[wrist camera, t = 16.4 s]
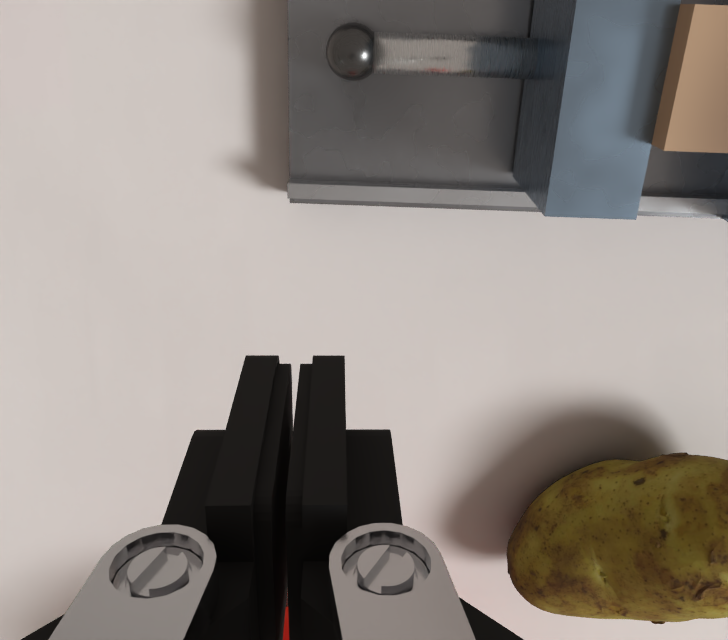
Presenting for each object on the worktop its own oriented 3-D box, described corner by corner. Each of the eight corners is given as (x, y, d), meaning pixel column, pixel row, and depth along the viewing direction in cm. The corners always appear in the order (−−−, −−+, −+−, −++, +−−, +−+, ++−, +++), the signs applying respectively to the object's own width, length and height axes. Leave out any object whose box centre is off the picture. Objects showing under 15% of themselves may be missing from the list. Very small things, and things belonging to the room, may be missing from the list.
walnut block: (595, 115, 27) (663, 150, 21) (613, 3, 25) (695, 4, 19) (747, 121, 27) (862, 158, 21) (776, 9, 25) (911, 12, 19)
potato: (481, 448, 36) (509, 563, 28) (739, 399, 34) (838, 507, 27) (506, 568, 39) (536, 698, 32) (741, 527, 38) (830, 654, 30)
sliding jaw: (326, 169, 28) (315, 207, 23) (329, -90, 24) (317, -115, 19) (586, 179, 28) (636, 219, 23) (630, -78, 24) (701, -100, 19)
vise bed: (293, 193, 30) (270, 249, 23) (291, -133, 25) (260, -184, 18) (775, 211, 30) (893, 272, 23) (868, -111, 25) (1054, -153, 18)
